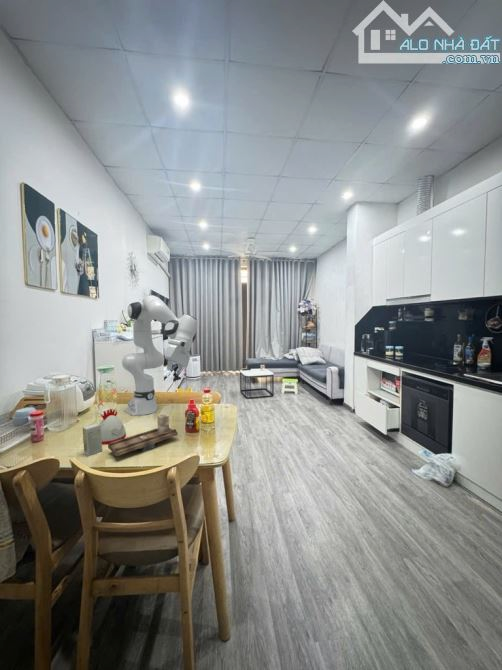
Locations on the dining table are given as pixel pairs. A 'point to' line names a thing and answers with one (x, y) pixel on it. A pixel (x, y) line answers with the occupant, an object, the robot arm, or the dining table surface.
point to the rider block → (163, 423)
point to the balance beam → (140, 441)
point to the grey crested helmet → (111, 428)
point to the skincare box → (92, 439)
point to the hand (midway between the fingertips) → (173, 372)
